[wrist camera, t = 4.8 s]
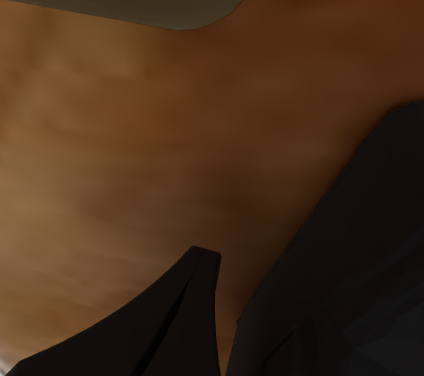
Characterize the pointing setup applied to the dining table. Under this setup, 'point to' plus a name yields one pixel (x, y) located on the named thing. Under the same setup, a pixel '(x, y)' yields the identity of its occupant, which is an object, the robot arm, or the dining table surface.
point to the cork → (149, 10)
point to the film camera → (349, 272)
